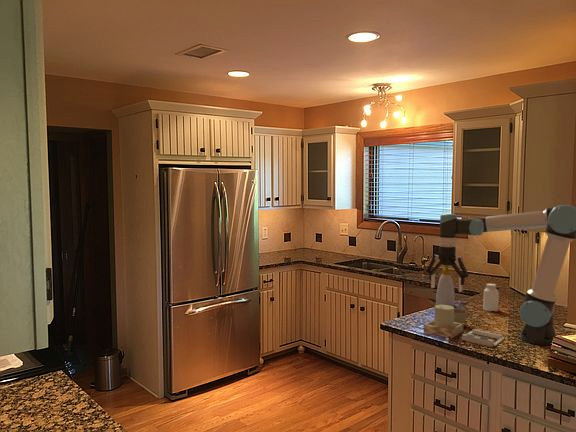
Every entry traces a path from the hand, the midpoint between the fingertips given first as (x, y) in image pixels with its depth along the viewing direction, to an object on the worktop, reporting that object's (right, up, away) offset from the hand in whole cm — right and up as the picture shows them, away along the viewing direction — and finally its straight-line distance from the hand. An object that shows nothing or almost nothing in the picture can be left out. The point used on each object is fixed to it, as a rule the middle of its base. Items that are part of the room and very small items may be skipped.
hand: (446, 289), depth 230 cm
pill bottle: (+40, -19, +44) cm, 62 cm away
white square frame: (+14, -22, -9) cm, 27 cm away
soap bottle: (+17, -18, +53) cm, 58 cm away
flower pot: (+10, -20, +14) cm, 27 cm away
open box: (-1, -21, +1) cm, 21 cm away
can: (-1, -20, +1) cm, 20 cm away
